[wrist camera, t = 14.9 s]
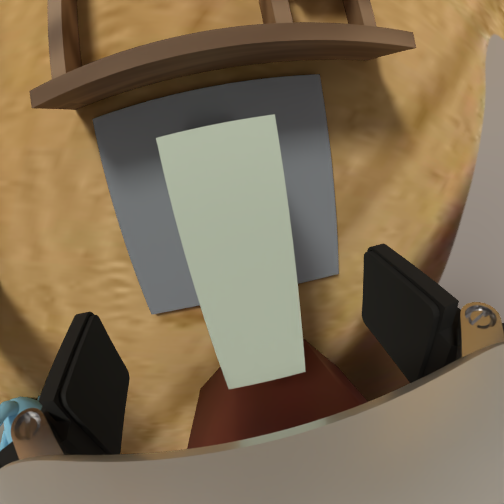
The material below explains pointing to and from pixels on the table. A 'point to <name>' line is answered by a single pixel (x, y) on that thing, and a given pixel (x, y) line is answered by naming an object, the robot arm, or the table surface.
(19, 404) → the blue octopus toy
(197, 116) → the mat
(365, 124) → the table surface
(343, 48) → the rack
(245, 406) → the bucket
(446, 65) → the table surface
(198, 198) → the pale green block
